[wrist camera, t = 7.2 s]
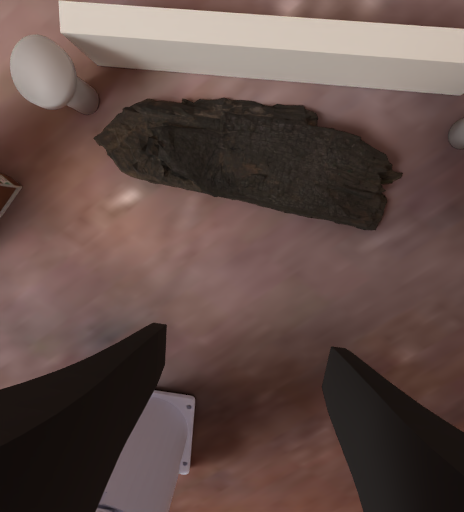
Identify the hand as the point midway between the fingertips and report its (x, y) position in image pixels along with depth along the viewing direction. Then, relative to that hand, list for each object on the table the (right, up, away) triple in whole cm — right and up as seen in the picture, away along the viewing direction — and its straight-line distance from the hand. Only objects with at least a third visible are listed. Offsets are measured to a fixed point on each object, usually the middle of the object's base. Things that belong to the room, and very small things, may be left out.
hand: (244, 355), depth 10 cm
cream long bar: (+2, +15, +6) cm, 17 cm away
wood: (+1, +12, +8) cm, 14 cm away
